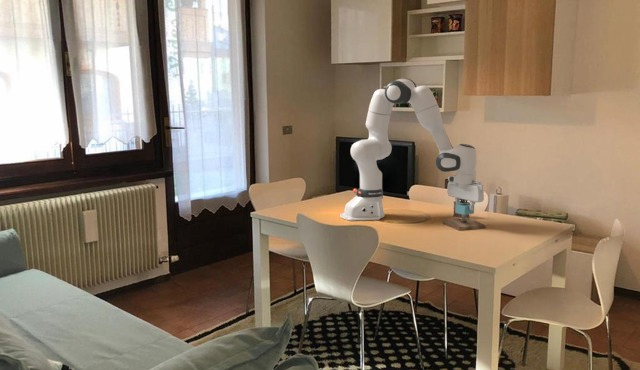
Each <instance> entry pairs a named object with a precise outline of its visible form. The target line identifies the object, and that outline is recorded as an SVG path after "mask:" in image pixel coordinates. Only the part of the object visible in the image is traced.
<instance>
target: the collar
mask: <svg viewBox="0 0 640 370" xmlns="http://www.w3.org/2000/svg"><path fill="white" fill-rule="evenodd" d="M470 204H471V203H470ZM470 204H468V203H460V204H455V213H459V214H463V215H467V214H469V215H471V214H475V205H474V206H473V210H468V206H470Z"/></svg>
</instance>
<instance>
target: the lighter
mask: <svg viewBox="0 0 640 370" xmlns="http://www.w3.org/2000/svg"><path fill="white" fill-rule="evenodd" d="M468 201H469V200H464V199H460V203H468V204H471V203H470V201H469V202H468ZM455 204H457V203H456V201H455V200H454V201H453V215H452V216H453V218H459V219H461V216H462V214H459V213H455ZM467 218H469V219H470V214H467Z"/></svg>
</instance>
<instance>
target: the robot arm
mask: <svg viewBox="0 0 640 370" xmlns="http://www.w3.org/2000/svg"><path fill="white" fill-rule="evenodd" d="M370 99H371V100H370V102H369V106H368V111H367V114H366V119H365V120H366V121H365V127H366V129H367V130H368V138H367V139H360V140H358V141H355V142H354V143H353V144H351V147H350V156H351V158H352V160H354V161H355V163H356V165H357V167H358V172H359V188H358V189H357V188H353V189H352V192H353V193H355V194H356V195H355V196H354V197H352V199H351V200H349V201H348V202H347V203H345V206H344V211H343V212H341V213H340V214H339V216H340V218H342V219H344V220H346V221H378V220H381V219H382V218H385V211H384V205H383V199H384V197H383V196H384V191H383V190H384V188H383V172H382V171H381V170H380V169H379V167H378V165H377V161H379V160H383V159H385V158H386V157H389V156H390V154H391V153H392V148H393V146H392V144H391V142H390V141H389V136H388V135H389V134H388V132H389V131H388V130H389V124H390V119H391V115H392V112H393V111H392V110H393V107H394V105H400V104H407V103H409V104H410V105H411V106H412V108H413V111H414V114H415V116H416V118H417V121H418V122H419V124H420V126H421V127H422V128H423V129H425V130H427V131H428V132H429V133H430V134H431V136H432V138H433V140H434V142H435V144H436V147H437V149H438V152H439V153H438V155H437V156H436V159H435V165H436V168H437V169H438V170H439V171H440V172H444V173H450V172H454V171H455V172H456V173H455V175H451V176H448V177H447V181H448V182H447V186H446V187H447V188H446V189H447V191H446V192H447V195H448V197H452V198H454V201H456V203H457V204H460V201H461V200H460V199H464V200H468V201H469V202H470V206H468V210H473V206H474V207H475V204H476V203H482V202H483V201H485V195H484V193H485V192H484V185H483V184H482V183H481V181H478V180H476V178H477V171H476V167H477V150H476V148H475V146H473V145H470V144H465V143H460V144H458V145H457V146H455V147H454V146H453V145H452V144H451V141H450V139H449V137H448V134H447V131H446V130H445V126H444V122H443V117H442V112H441V109H440V107H439V104H438V102H437V100H436V97H435V95H434V93H433V92H432V90H431V89H430V87H428V86H427V85H420V86H418V85H417V84H416V83H415V81H413V80H412V79H411V78H399V79H395V80H392V81H390V82H389V83H388V84H387V85H386V86H385V88H380V89H379V88H378V89H376V90H375V91H374V93H373V95H372V96H371V98H370Z"/></svg>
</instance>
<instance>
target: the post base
mask: <svg viewBox="0 0 640 370" xmlns="http://www.w3.org/2000/svg"><path fill="white" fill-rule="evenodd" d="M442 224H443V225H444V226H445V225H446V226H447V227H450V228H452V229H454V230H457V231H468V230H477V229H478V230H479V229H485V228H486V224H485V223H481V222H479V221H477V220H475V219H471V218H470V217H469V218H467V215H463V214H462V216H461V218H458V219H457V218H455V219H453V218H452V219H444V220H442Z"/></svg>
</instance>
